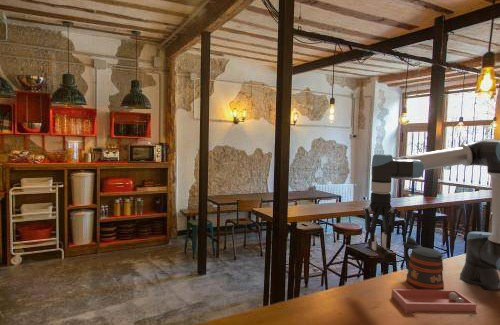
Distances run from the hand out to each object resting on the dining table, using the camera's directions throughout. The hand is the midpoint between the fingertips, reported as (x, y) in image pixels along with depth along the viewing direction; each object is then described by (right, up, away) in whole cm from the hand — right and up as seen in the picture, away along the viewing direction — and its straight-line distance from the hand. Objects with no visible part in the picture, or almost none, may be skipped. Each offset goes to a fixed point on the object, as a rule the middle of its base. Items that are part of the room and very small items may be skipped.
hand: (378, 249), depth 137 cm
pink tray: (+17, -20, -8) cm, 27 cm away
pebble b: (+27, -19, -10) cm, 34 cm away
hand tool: (-1, -2, 0) cm, 3 cm away
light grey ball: (+27, -19, -6) cm, 33 cm away
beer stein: (+21, -19, +9) cm, 30 cm away
